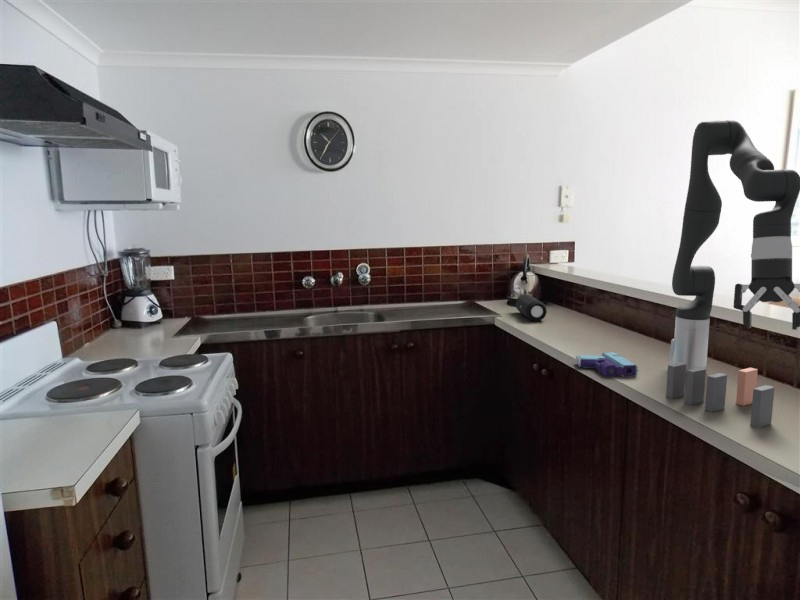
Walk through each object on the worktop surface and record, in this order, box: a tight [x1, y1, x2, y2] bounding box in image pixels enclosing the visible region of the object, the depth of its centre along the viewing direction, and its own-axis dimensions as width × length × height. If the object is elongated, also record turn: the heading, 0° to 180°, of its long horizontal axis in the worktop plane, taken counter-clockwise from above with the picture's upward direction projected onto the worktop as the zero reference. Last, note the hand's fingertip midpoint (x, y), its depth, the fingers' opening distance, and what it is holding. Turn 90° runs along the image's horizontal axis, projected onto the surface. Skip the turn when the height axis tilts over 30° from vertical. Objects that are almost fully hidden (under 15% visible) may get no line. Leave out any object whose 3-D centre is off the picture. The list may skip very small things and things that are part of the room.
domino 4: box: [735, 367, 759, 406], centre depth 132 cm, size 2×5×9 cm, turn 115°
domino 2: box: [684, 367, 707, 406], centre depth 134 cm, size 2×5×9 cm, turn 116°
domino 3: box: [704, 372, 728, 413], centre depth 129 cm, size 2×5×9 cm, turn 116°
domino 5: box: [749, 384, 775, 429], centre depth 119 cm, size 2×5×9 cm, turn 116°
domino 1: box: [665, 362, 687, 400], centre depth 139 cm, size 2×5×9 cm, turn 116°
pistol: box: [575, 351, 639, 378], centre depth 164 cm, size 4×16×15 cm
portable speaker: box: [515, 294, 548, 322], centre depth 250 cm, size 26×10×10 cm, turn 0°
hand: (771, 328), depth 116 cm, fingers open, 8 cm apart
